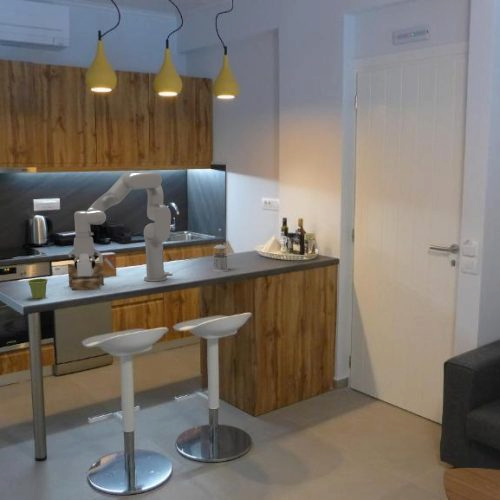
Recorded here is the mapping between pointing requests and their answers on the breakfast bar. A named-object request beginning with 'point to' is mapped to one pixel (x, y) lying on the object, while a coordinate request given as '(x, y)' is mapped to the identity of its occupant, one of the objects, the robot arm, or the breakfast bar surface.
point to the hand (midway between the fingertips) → (85, 268)
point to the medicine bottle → (84, 265)
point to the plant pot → (38, 288)
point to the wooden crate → (86, 278)
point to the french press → (220, 259)
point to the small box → (108, 263)
